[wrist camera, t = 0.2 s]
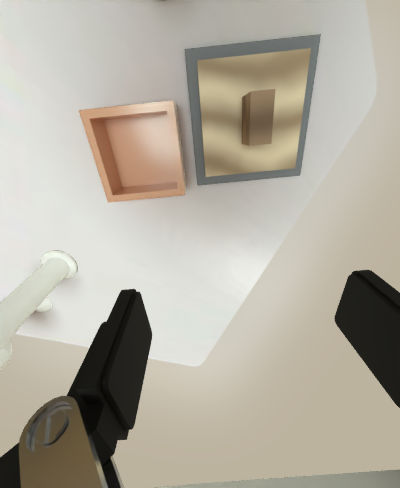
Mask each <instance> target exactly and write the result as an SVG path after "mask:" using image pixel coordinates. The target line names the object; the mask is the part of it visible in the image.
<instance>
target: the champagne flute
mask: <svg viewBox="0 0 400 488" xmlns="http://www.w3.org/2000/svg"><path fill="white" fill-rule="evenodd" d="M51 308H52V302H51V300H50V299H49V298H48V297H46V298H45V299H44V301H43V302H42V303H41V304H40V305H39V306H38V307H37V309H36V310H35V311H38V312H46V311H48V310H50V309H51ZM11 356H12V346H11V343H10V340H9V341H8V342H7V343H6V344H5V345H4V346H3V347H2V349H1V350H0V371H1V369H2V368H3V367H4V366H5V365H6V364H7V363H8V362H9V361H10V359H11Z"/></svg>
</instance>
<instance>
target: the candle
mask: <svg viewBox="0 0 400 488" xmlns="http://www.w3.org/2000/svg"><path fill="white" fill-rule="evenodd" d="M76 272H77V264H76V262H75V260H74V259H73V258H72V257H71V256H70V255H68V254H66V253H64V252H62V251H49V252H47V253H45V254H44V255H43V256H42V258H41V267H40V268H39V269H37V270H36V271H35V272H34V273H33V274H32V275H31V276H30V277H29V278H27V279H26V280H25V281H24V282H23V283H22V284H21V285H20V286H19V287H17V288H16V289H15V290H14V291H13V292H12V293H11V294H10V295H8V296H7V297H6V298H5V299H4V300H3V301H2V302H1V303H0V350H1V349H2V347H3V346H4V345H5V344H6V343H7V342H8V341H9V339H10V338H11V337H12V336H13V335H14V334H15V333H16V331H17V330H18V329H19V328H20V327H21V326H22V325H23V323H24V322H25V321H26V320H27V319H28V318H29V317H30V315H31V314H32V313H33V312H34V311H35V310H36V309H37V307H38V306H39V305H40V304H41V303H42V302H43V301H44V299H45V298H46V297H47V296H48V295H49V294H50V293H51V291H52V290H53V289H54V288H55V287H56V286H57V285H58V283H59V282H60V281H61V280H62V279H68V278H71V277H73V276H74V275H75V274H76Z"/></svg>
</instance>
